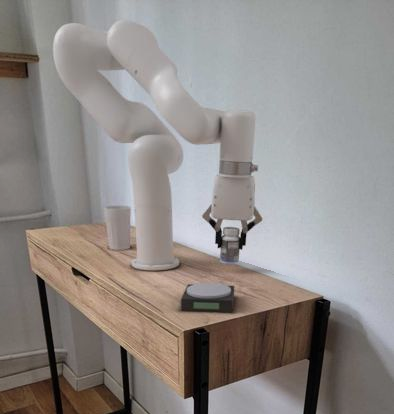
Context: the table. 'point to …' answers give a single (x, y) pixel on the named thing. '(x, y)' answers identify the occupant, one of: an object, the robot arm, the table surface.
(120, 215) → the cup
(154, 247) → the robot arm
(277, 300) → the table surface
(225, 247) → the pill bottle
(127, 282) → the table surface
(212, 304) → the scale
